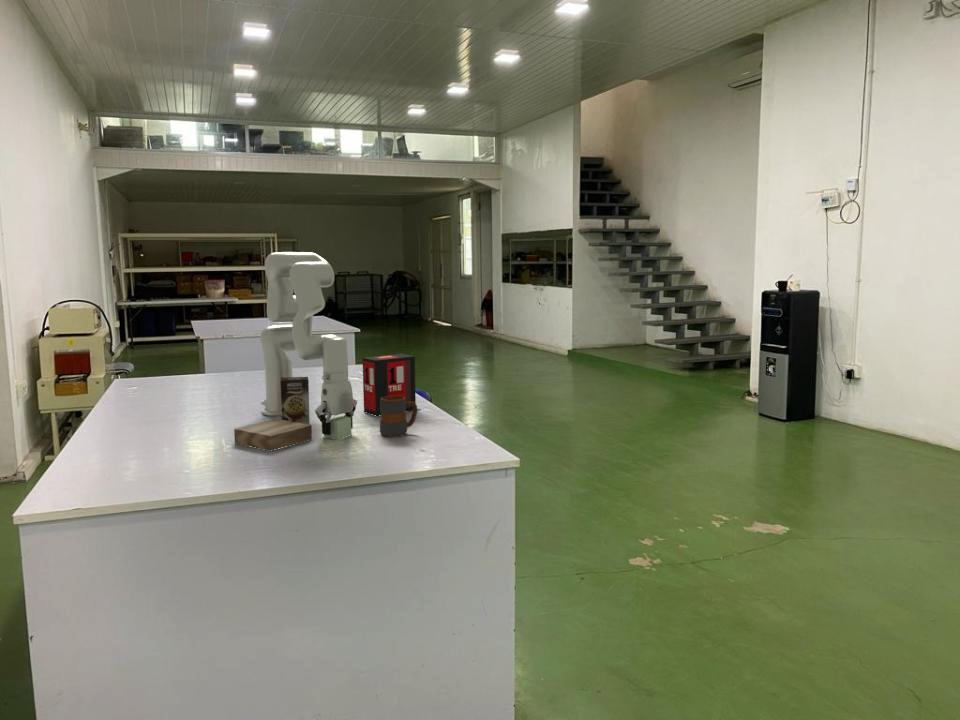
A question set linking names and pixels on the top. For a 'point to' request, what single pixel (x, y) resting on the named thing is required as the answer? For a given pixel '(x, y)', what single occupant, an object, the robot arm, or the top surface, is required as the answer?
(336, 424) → the sage cube
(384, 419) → the mug
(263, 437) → the walnut block
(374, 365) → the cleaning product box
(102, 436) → the top surface
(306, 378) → the coffee box
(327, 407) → the robot arm
